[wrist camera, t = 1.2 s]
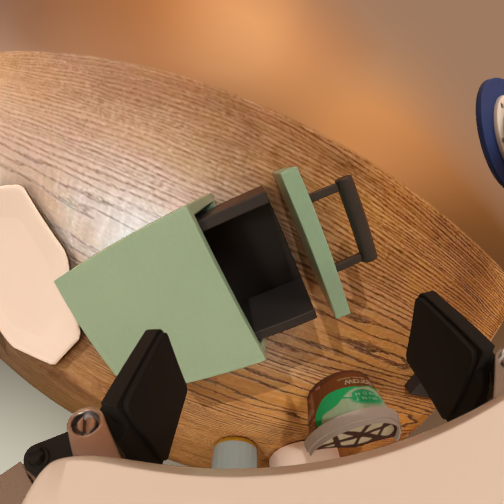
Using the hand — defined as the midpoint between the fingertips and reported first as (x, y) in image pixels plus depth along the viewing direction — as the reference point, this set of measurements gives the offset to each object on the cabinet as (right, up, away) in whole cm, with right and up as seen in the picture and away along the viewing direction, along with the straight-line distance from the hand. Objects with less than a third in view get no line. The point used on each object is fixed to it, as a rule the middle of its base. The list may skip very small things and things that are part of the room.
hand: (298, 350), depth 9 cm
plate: (-37, 0, +20) cm, 42 cm away
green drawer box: (-9, +1, +19) cm, 21 cm away
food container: (+11, -14, +23) cm, 29 cm away
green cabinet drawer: (0, +5, +17) cm, 17 cm away
